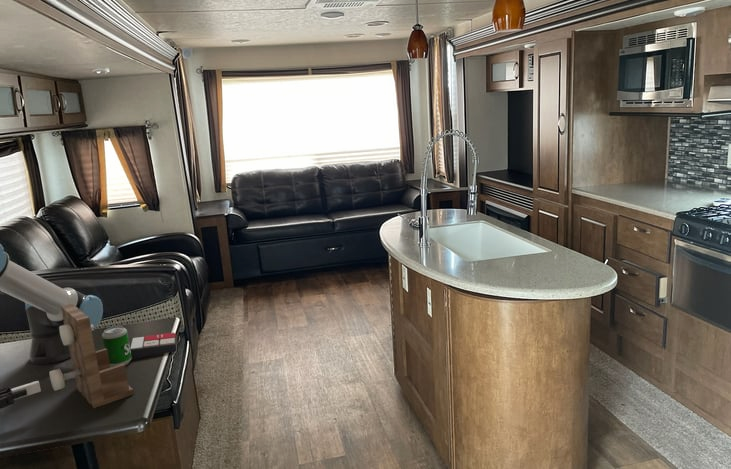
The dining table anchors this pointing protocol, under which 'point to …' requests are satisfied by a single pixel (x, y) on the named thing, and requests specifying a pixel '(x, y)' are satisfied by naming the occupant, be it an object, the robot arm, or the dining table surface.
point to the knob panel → (93, 363)
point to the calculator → (153, 345)
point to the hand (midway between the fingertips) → (39, 385)
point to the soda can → (117, 345)
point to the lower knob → (62, 378)
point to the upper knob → (68, 334)
